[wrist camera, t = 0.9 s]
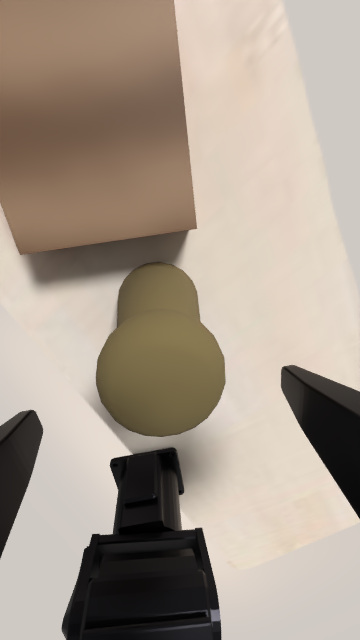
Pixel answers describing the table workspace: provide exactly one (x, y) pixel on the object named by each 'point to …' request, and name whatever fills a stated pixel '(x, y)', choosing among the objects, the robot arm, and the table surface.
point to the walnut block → (92, 122)
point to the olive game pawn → (160, 356)
